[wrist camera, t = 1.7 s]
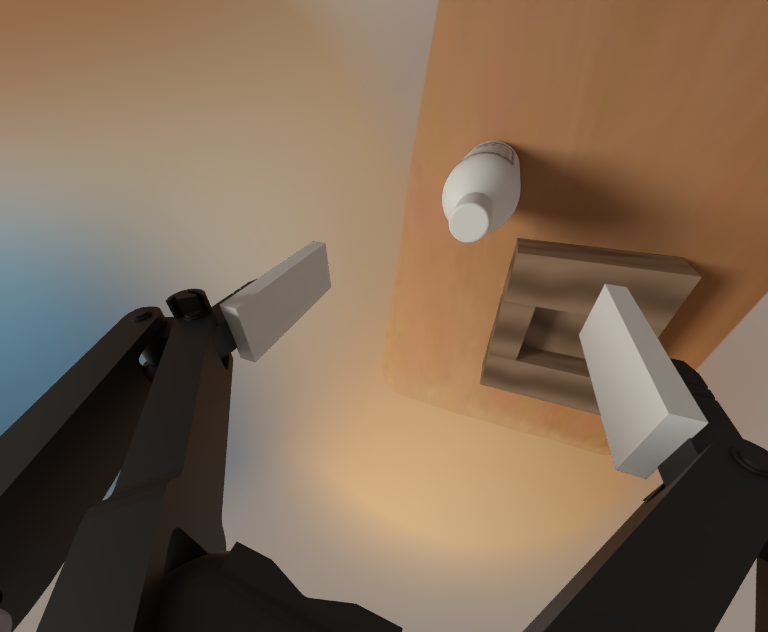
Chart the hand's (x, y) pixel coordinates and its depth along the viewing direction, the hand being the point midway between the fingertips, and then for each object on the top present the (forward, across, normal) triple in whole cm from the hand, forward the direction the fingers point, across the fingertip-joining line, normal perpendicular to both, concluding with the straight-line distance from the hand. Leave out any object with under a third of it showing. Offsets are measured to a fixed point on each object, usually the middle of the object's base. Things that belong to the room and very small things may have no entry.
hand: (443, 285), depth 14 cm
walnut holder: (+29, +14, -19) cm, 38 cm away
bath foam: (+29, 0, 0) cm, 29 cm away
